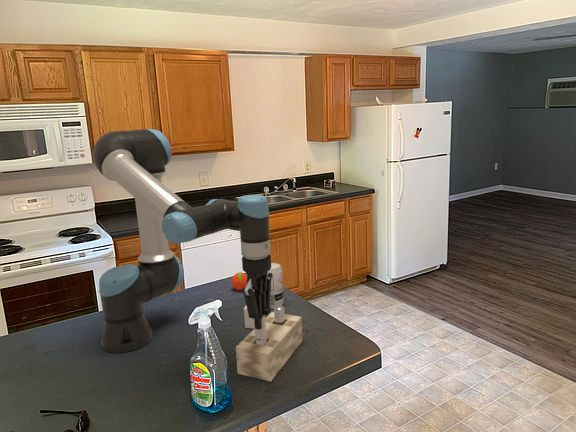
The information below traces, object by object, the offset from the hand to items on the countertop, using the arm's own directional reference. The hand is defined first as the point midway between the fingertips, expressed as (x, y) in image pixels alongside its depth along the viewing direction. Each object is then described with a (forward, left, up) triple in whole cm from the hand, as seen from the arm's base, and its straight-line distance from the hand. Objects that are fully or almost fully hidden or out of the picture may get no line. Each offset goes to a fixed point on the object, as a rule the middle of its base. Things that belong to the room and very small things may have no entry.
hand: (261, 337), depth 116 cm
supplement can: (-15, +37, -9) cm, 41 cm away
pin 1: (0, 0, -8) cm, 8 cm away
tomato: (-33, +45, -9) cm, 57 cm away
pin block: (0, +6, -9) cm, 11 cm away
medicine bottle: (-13, +22, -9) cm, 27 cm away
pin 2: (0, +12, -4) cm, 13 cm away
